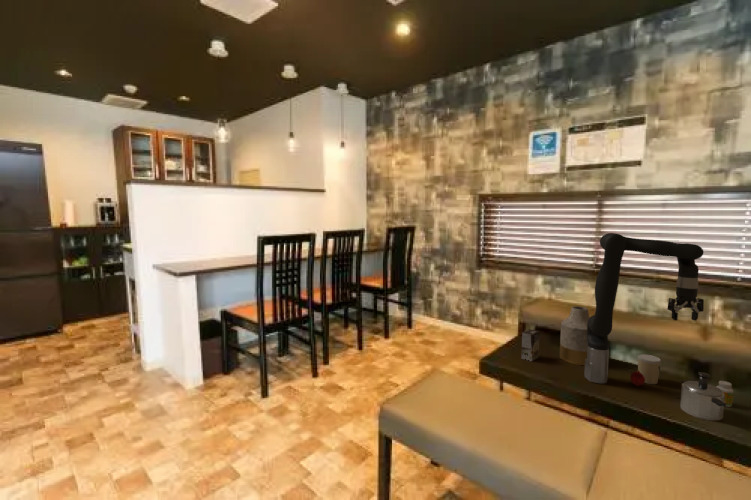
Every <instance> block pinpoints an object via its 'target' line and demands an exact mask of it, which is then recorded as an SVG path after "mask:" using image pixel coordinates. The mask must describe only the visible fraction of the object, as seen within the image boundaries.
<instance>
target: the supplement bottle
mask: <svg viewBox="0 0 751 500" xmlns="http://www.w3.org/2000/svg"><path fill="white" fill-rule="evenodd" d="M716 387H717V388H719V389H720V390H722V392H723V393H724V395H725V400H724V403H726V406H725V407H726V408H727V407H729V408H730V407H732V406H733V401H734V389H733V388H732V383H731V382H729V381H725V380H719V381H718V385H716Z"/></svg>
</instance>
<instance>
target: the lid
mask: <svg viewBox="0 0 751 500" xmlns="http://www.w3.org/2000/svg"><path fill="white" fill-rule="evenodd" d="M697 375H698V381H697V380H685V381H686V382H684V386H685V387H686V388H687V389H688V390H690V391H693V392H695V393H698V394H701V395H706V396H712V397H719V396H722V393H723V392H722V390H720V389H719V388H717V386H715V385H712V384H709V379H710V377H711V375H710V374H709V373H707V372H702V371H698V372H697Z"/></svg>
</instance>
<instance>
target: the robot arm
mask: <svg viewBox="0 0 751 500" xmlns="http://www.w3.org/2000/svg"><path fill="white" fill-rule="evenodd" d="M599 246H600V247H601V248H602V249H603V250H604V256H603V261H602V265H601V267H600V268H599V270H598V272H597V276H596V280H595V285H594V298H595V313H594V314H593V315H591V316H589V317H590V318H589V319H588V323H587V341H588V349H587V359H585V365H584V375H583V376H584V378H585V379H586V380H587V381H589V382H591V383H595V384H596V383H597V384H608V383H607V382H608V376H609V375H608V374H609V373H608V372H609V359H610V358H609V357H610V356H609V355H610V342H609V337H608V336H609V335H610V334H611V333H612V331H613V316H614V314H613V313H614V307H615V303H616V298H617V292H618V287H619V279H620V274H621V273H620V272H621V264H622V261H623V256H624V254H625V251H627V252H628V251H631V252H636V253H637V252H638V253H641V254H642V253H643V254H647V255H654V256H661V257H672V258H673V257H674V258H677V259H676V260H677V264H678V265H677V266H678V271H677V274H678V275H677V278H676V287H675V290H676V291H675V295H676V298H671V297H669V298H668V301H667V308H666V309H667V311H670V312H671V319H672V320H673V321H678V316H679V313H678V312H680V310H682V309H690V310H691V311H692V312H691V316H690V317H691V320H692V321H694V322H695V321H696V322H697V321H698V318H699V313H700V312H704V310H705V309H704V306H705V304H704V303H705V301H704V300H705V299H703V298H701V297H698V293H699V291H698V290H699V289H698V288H699V266H698V265H697V264H696V261H695V260H698V259H700V258H702V257H703V255H704V248H702V247H701V246H700V245H698V244H695V243H694V244H693V243H686V242H685V243H682V242H681V243H680V242H674V241H668V240H658V239H645V238H634V237H627V236H624V235H623V234H620V233H614V232H608V233H605V234H604V235H602V236H601V237H600V240H599Z"/></svg>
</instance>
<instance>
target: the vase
mask: <svg viewBox="0 0 751 500" xmlns="http://www.w3.org/2000/svg"><path fill="white" fill-rule="evenodd" d="M590 317H591V316H590V314H589V309H588V307H585V306H580V305H579V306H578V305H575V306H571V309H570V312H569V315H568V317H567V318H565V319H563V320H561V322H560V338H559V339H560V340H559V341H560V342H559V358H560V359H561V360H563V361H564V362H566V363H569V364H573V365H576V366H577V365H578V366H585V359H587V349H588V341H587V323H588V319H589V318H590Z"/></svg>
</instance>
